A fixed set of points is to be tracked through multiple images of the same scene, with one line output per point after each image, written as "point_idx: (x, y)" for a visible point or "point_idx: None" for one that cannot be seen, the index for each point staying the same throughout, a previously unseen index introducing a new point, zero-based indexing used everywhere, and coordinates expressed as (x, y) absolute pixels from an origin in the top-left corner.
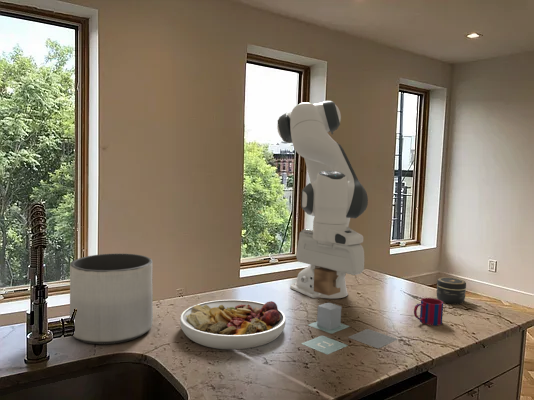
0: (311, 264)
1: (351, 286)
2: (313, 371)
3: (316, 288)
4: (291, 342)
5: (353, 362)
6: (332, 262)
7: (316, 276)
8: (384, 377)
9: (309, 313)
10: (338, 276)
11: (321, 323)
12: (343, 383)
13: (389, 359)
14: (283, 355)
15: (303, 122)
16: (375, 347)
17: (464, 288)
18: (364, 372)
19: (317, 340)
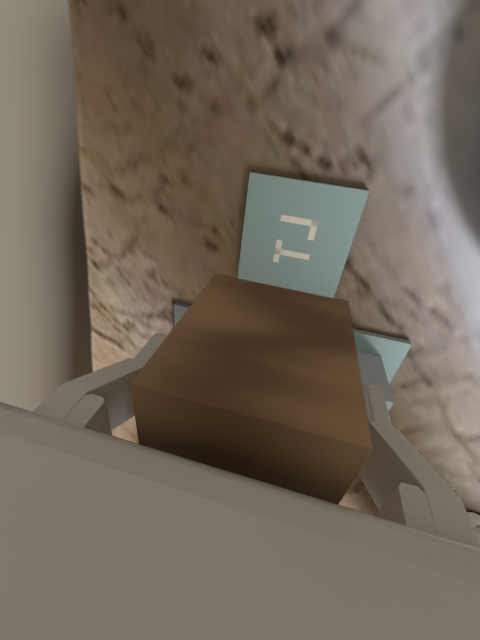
0: (468, 546)
1: None
2: (227, 10)
3: (321, 307)
4: (414, 192)
5: (178, 194)
6: (24, 535)
7: (329, 374)
8: (80, 165)
9: (442, 425)
10: (94, 385)
11: (364, 358)
12: (111, 16)
13: (134, 272)
14: (396, 45)
15: None
16: (181, 305)
17: None
18: (124, 153)
19: (328, 253)
